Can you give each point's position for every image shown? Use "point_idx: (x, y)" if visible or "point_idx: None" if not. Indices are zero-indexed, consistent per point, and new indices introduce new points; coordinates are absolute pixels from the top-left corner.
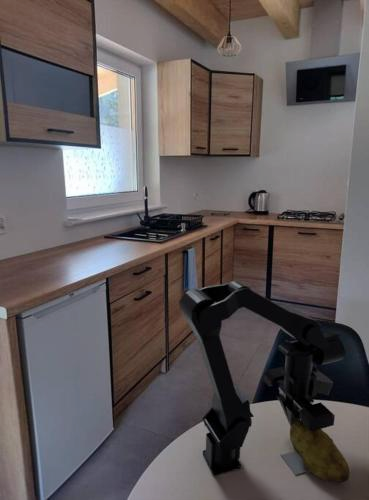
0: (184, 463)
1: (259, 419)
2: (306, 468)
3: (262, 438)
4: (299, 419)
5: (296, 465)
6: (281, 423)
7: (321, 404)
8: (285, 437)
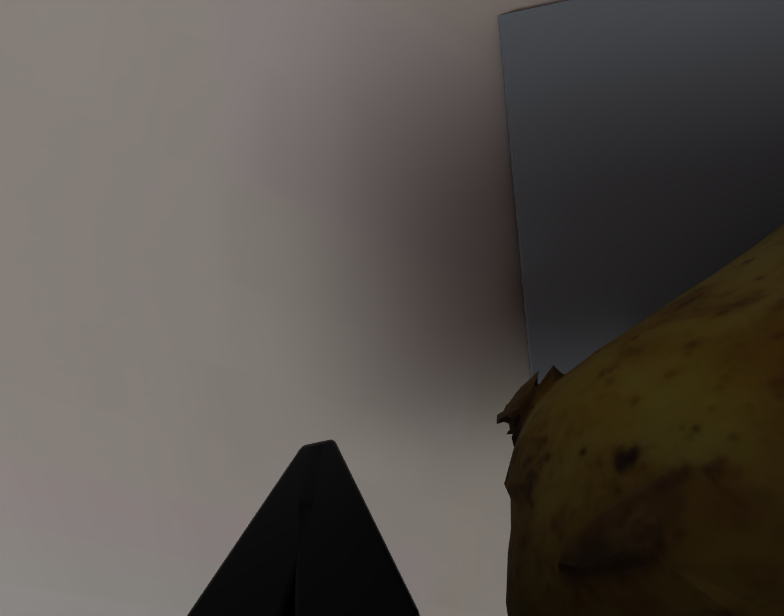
0: None
1: (51, 565)
2: None
3: None
4: (392, 565)
5: None
6: (85, 388)
7: None
8: (321, 418)
